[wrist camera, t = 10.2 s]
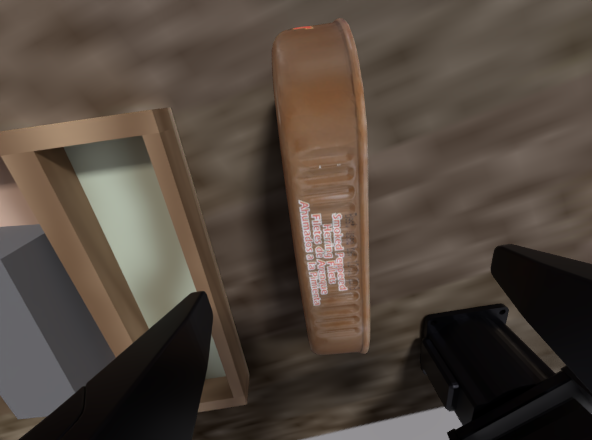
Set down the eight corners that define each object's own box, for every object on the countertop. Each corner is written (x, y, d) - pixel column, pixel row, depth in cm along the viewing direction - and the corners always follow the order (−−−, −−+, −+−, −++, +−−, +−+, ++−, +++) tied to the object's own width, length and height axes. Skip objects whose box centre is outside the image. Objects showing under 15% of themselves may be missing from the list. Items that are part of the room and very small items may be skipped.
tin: (342, 281, 20) (385, 394, 13) (300, 288, 20) (316, 405, 12) (327, 40, 14) (392, -27, 6) (265, 48, 14) (256, -10, 6)
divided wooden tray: (170, 107, 15) (151, 109, 12) (249, 374, 23) (247, 404, 21) (-99, 146, 14) (-168, 155, 12) (82, 400, 23) (61, 434, 21)
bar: (119, 356, 21) (86, 412, 17) (63, 361, 20) (17, 419, 17) (61, 222, 16) (0, 259, 12) (-11, 227, 16) (-95, 266, 12)
